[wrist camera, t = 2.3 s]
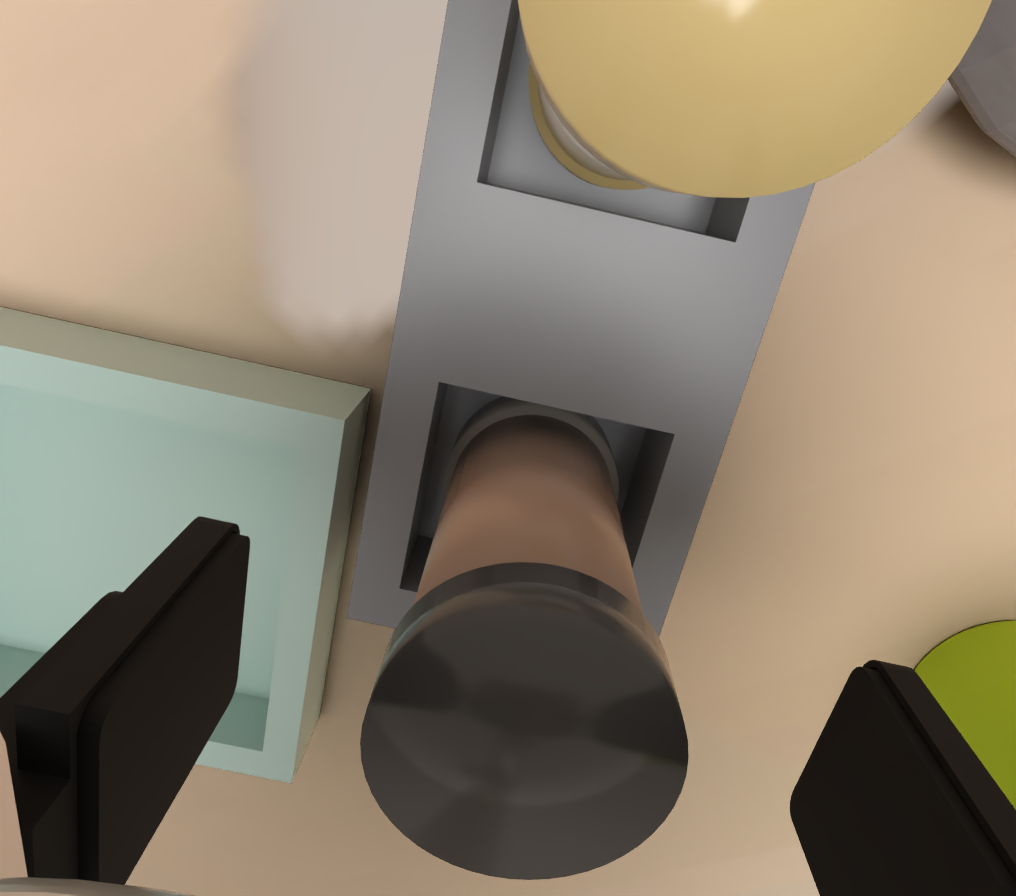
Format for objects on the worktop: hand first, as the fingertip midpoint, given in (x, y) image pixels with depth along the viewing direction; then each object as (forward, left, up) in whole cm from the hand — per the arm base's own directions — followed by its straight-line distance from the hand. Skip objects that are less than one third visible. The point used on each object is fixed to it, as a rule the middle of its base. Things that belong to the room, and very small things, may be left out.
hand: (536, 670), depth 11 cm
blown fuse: (-1, 0, -10) cm, 10 cm away
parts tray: (-6, +11, -11) cm, 16 cm away
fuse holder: (+4, 0, -11) cm, 12 cm away
